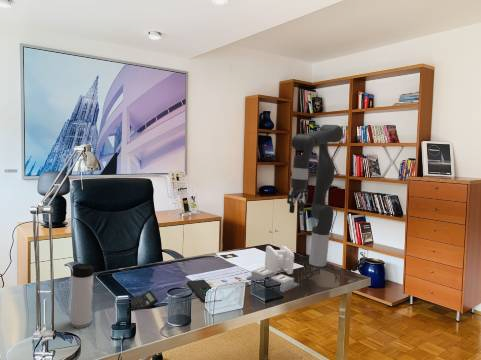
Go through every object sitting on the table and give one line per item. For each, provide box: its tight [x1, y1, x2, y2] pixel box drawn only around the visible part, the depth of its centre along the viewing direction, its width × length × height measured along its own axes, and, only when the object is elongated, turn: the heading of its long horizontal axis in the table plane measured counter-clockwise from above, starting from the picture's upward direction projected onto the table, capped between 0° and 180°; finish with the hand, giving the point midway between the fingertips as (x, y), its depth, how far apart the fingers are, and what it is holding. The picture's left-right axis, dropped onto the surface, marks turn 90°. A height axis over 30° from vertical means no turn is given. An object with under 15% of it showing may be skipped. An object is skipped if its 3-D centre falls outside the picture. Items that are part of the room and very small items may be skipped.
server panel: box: [246, 267, 300, 294], centre depth 172 cm, size 13×20×4 cm, turn 50°
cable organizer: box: [264, 245, 295, 275], centre depth 187 cm, size 15×11×12 cm
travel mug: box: [70, 263, 94, 329], centre depth 121 cm, size 6×7×20 cm
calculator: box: [129, 290, 159, 312], centre depth 140 cm, size 9×12×3 cm
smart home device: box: [186, 279, 213, 304], centre depth 156 cm, size 8×2×20 cm
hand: (296, 212), depth 177 cm, fingers open, 8 cm apart
